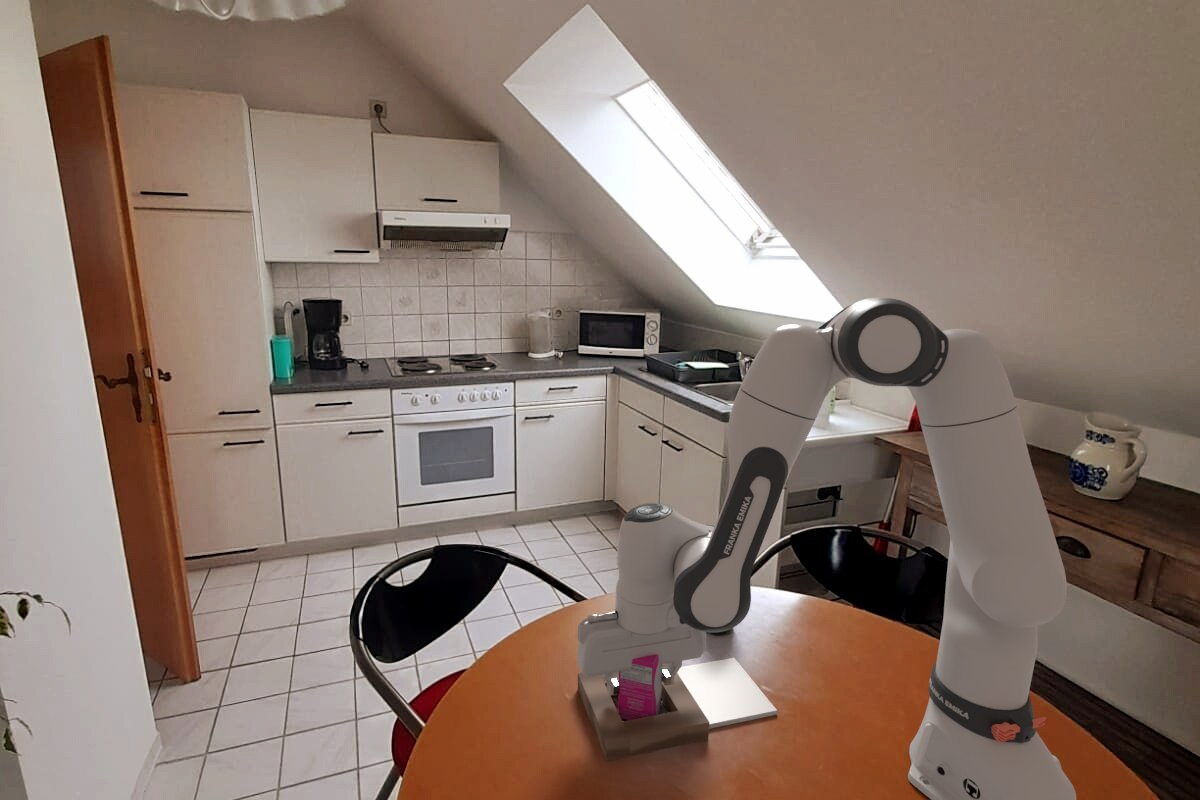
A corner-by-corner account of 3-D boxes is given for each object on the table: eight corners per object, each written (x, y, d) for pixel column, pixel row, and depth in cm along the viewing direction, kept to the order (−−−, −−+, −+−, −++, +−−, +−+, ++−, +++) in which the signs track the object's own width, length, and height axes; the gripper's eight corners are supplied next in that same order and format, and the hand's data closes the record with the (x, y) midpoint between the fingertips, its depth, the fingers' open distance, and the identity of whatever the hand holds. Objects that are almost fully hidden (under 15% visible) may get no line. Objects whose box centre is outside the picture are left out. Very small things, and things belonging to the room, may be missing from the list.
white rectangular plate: (776, 714, 101) (777, 710, 101) (708, 728, 97) (708, 724, 97) (733, 661, 114) (734, 657, 114) (672, 672, 110) (672, 668, 110)
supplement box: (627, 697, 104) (629, 634, 101) (662, 706, 102) (665, 642, 99) (616, 720, 99) (618, 655, 96) (653, 730, 97) (656, 664, 94)
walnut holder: (708, 739, 95) (709, 722, 94) (606, 761, 90) (607, 743, 90) (666, 673, 110) (667, 658, 109) (577, 689, 105) (577, 673, 105)
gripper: (583, 629, 90) (581, 713, 93) (713, 609, 96) (707, 689, 99) (572, 606, 96) (571, 686, 99) (695, 589, 102) (690, 665, 105)
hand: (640, 687), depth 99 cm, fingers closed on supplement box, 8 cm apart
